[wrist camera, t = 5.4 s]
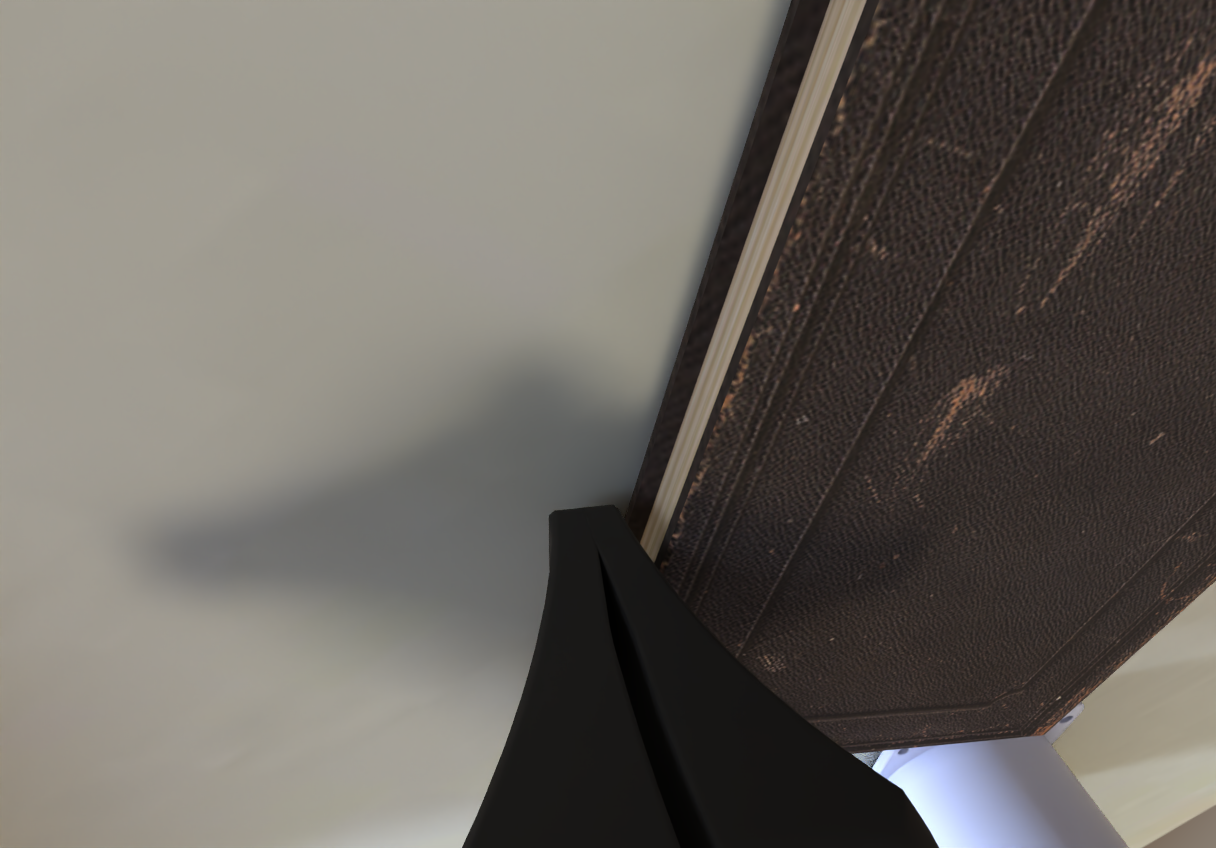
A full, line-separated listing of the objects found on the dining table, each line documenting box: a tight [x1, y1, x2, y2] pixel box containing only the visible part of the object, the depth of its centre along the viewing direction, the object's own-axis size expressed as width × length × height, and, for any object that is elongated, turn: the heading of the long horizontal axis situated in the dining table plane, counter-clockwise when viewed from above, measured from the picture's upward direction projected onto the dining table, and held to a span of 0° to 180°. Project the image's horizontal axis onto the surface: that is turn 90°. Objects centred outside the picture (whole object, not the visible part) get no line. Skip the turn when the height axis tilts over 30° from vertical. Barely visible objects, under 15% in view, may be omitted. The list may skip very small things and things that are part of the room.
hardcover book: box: [625, 0, 1216, 754], centre depth 13 cm, size 16×23×2 cm
